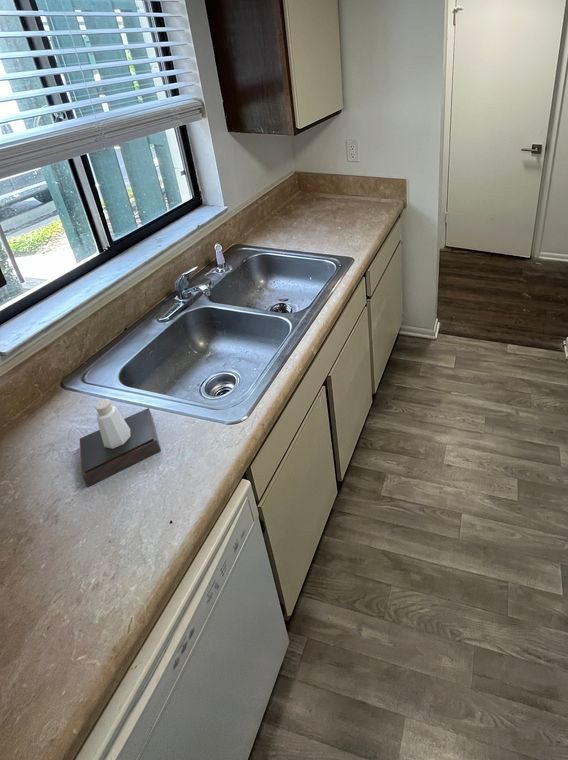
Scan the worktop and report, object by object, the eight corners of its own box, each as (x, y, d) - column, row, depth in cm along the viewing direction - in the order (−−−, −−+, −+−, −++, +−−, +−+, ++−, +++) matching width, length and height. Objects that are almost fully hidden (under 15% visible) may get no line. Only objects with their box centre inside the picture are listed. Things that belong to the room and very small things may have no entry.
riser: (87, 487, 91) (81, 475, 90) (84, 449, 99) (78, 437, 98) (161, 451, 99) (156, 439, 97) (152, 418, 107) (148, 406, 105)
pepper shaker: (98, 451, 94) (82, 415, 90) (110, 429, 99) (94, 394, 94) (125, 447, 95) (110, 412, 90) (135, 426, 100) (121, 391, 95)
